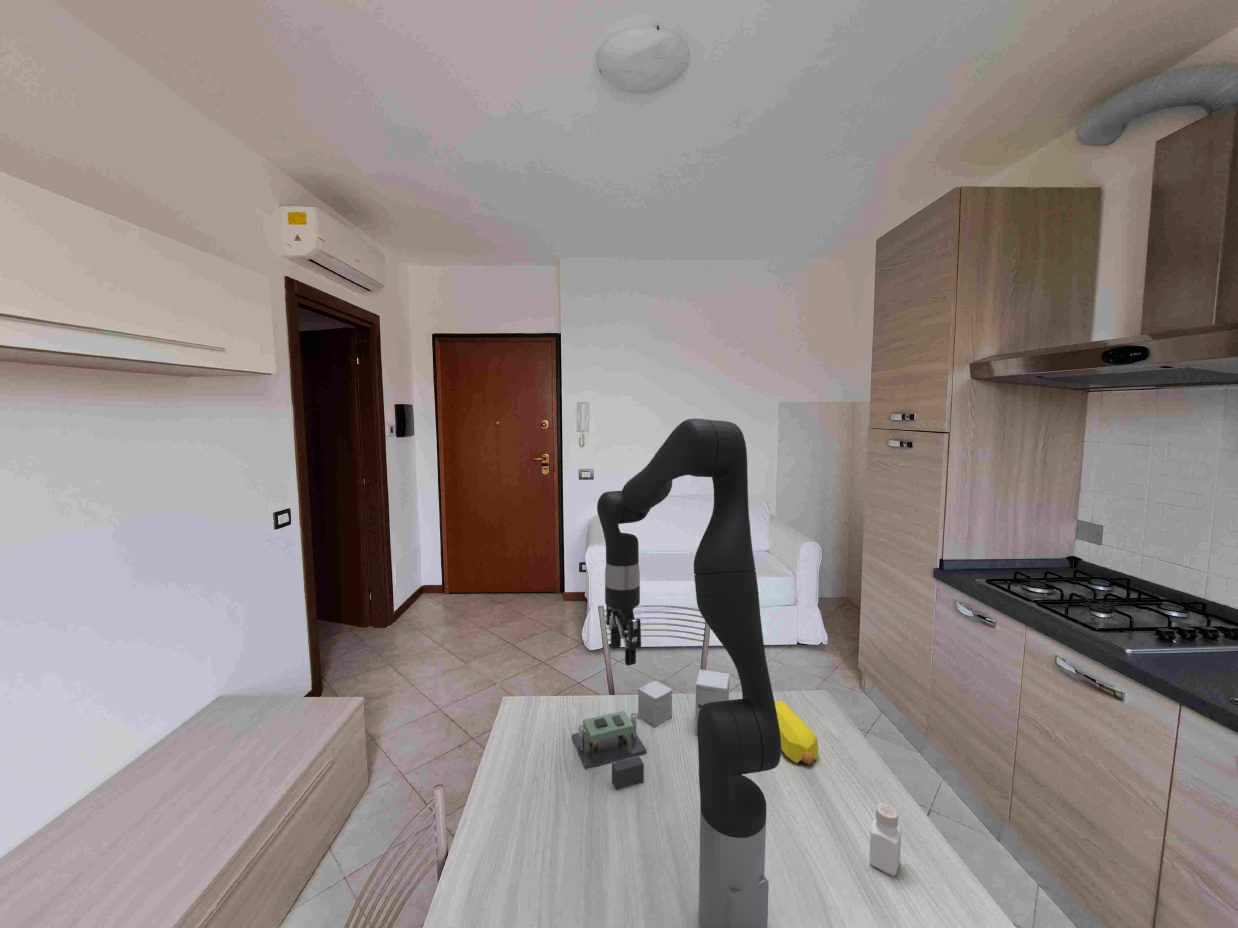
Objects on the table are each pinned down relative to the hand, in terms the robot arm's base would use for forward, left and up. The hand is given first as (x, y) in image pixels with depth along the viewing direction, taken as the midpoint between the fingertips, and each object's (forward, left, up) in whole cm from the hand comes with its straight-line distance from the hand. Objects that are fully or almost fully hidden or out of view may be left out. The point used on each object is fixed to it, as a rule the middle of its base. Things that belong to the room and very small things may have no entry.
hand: (622, 655), depth 107 cm
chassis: (+3, +2, -22) cm, 22 cm away
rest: (-9, +2, -22) cm, 24 cm away
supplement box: (0, -23, -22) cm, 32 cm away
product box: (+9, -12, -22) cm, 27 cm away
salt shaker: (-41, -31, -22) cm, 56 cm away
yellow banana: (-10, -36, -22) cm, 44 cm away
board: (+3, +2, -18) cm, 19 cm away
